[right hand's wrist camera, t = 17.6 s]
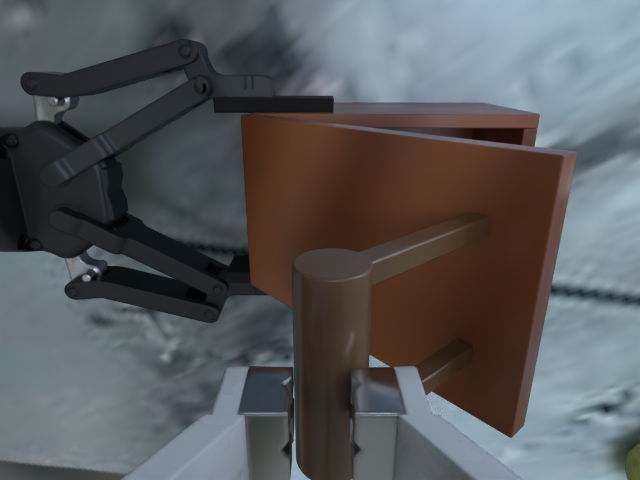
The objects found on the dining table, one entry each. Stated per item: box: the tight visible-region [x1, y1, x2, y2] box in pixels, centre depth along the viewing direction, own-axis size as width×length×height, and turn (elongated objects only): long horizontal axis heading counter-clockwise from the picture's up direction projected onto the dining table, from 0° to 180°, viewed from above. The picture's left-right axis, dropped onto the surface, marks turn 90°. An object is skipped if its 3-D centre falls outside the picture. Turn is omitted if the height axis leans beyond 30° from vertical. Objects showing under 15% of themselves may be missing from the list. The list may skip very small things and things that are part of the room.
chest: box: [250, 103, 540, 147], centre depth 30 cm, size 15×10×9 cm, turn 90°
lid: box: [241, 114, 577, 480], centre depth 17 cm, size 16×10×8 cm
